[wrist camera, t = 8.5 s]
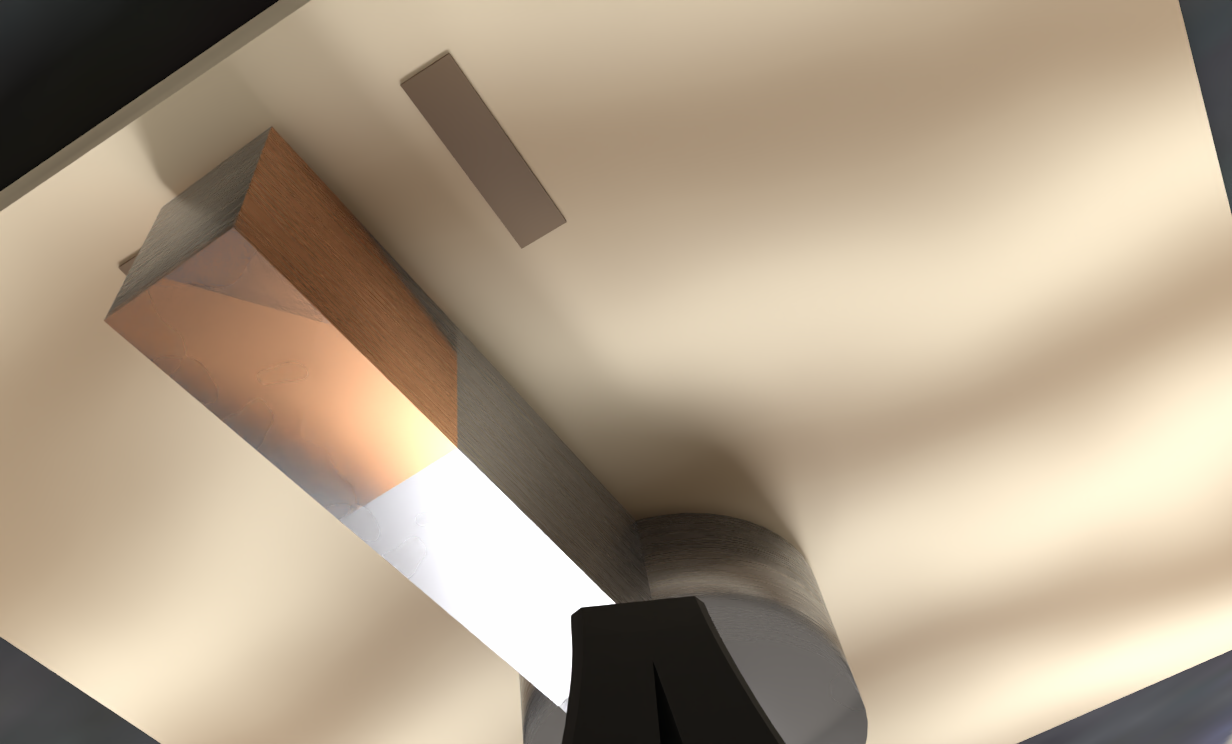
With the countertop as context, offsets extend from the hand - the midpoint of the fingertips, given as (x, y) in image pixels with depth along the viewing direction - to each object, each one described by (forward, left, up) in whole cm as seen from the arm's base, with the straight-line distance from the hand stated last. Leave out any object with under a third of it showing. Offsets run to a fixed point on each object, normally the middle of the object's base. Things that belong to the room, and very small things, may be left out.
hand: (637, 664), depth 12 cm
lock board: (-5, +1, -8) cm, 10 cm away
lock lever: (-2, +2, -6) cm, 7 cm away
